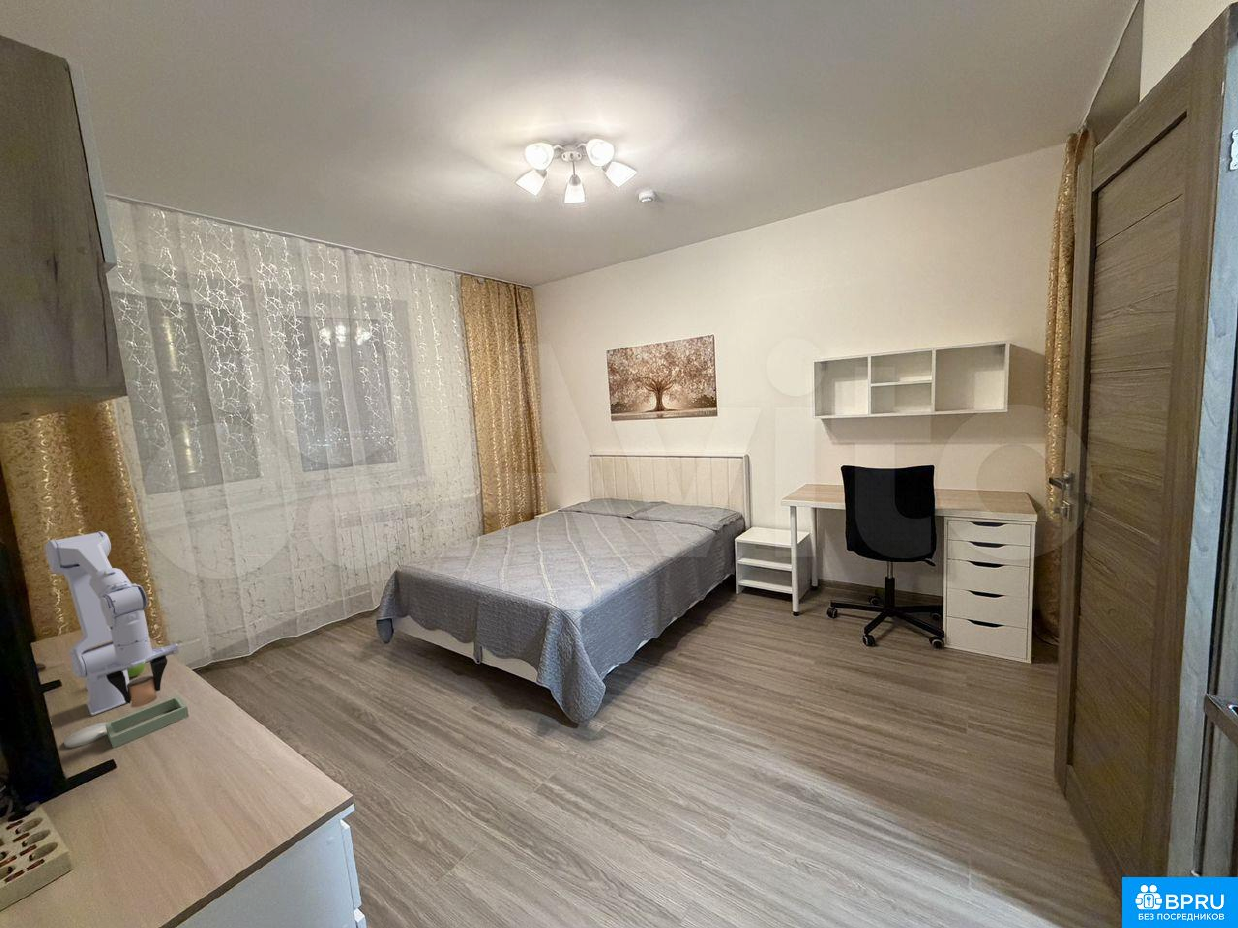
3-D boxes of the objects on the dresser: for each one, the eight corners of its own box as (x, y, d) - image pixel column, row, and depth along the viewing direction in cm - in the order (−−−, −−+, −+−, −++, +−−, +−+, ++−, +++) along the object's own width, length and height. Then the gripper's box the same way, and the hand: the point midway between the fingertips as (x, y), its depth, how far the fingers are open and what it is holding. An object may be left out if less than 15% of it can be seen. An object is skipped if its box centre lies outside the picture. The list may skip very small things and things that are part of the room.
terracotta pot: (129, 703, 110) (124, 682, 110) (155, 693, 114) (151, 673, 113) (132, 709, 108) (128, 688, 107) (159, 699, 111) (155, 679, 111)
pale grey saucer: (63, 740, 108) (62, 736, 108) (108, 722, 113) (107, 718, 113) (66, 752, 104) (65, 747, 104) (112, 733, 109) (112, 729, 109)
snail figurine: (132, 681, 132) (123, 641, 130) (114, 680, 133) (106, 640, 132) (154, 670, 137) (146, 631, 136) (137, 669, 138) (129, 631, 137)
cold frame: (107, 734, 109) (105, 724, 109) (180, 704, 119) (178, 695, 119) (113, 748, 104) (111, 737, 104) (188, 716, 114) (187, 706, 114)
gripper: (87, 659, 101) (99, 718, 103) (177, 630, 112) (188, 684, 114) (82, 650, 105) (95, 707, 107) (170, 624, 117) (180, 675, 118)
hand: (142, 695), depth 111 cm, fingers closed on terracotta pot, 4 cm apart
